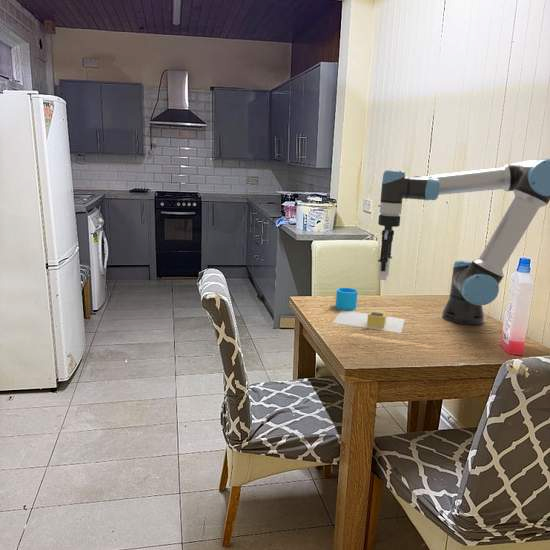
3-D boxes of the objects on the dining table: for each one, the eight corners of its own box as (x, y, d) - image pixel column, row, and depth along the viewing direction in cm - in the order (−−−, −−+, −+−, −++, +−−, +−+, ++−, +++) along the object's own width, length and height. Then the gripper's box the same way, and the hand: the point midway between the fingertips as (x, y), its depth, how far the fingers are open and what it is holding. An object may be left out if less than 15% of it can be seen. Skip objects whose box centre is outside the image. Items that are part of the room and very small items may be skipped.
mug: (351, 314, 197) (353, 294, 195) (332, 310, 200) (333, 290, 198) (361, 307, 207) (363, 288, 205) (343, 303, 211) (344, 284, 209)
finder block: (385, 323, 184) (387, 311, 183) (383, 328, 178) (385, 316, 177) (369, 320, 186) (370, 309, 185) (366, 325, 180) (368, 313, 179)
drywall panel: (412, 323, 189) (413, 320, 189) (409, 337, 174) (409, 334, 173) (333, 312, 198) (334, 309, 198) (324, 324, 182) (324, 321, 182)
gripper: (382, 211, 190) (376, 271, 195) (375, 216, 172) (369, 282, 178) (402, 213, 188) (396, 273, 193) (398, 218, 170) (391, 284, 175)
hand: (383, 277), depth 185 cm, fingers open, 6 cm apart
